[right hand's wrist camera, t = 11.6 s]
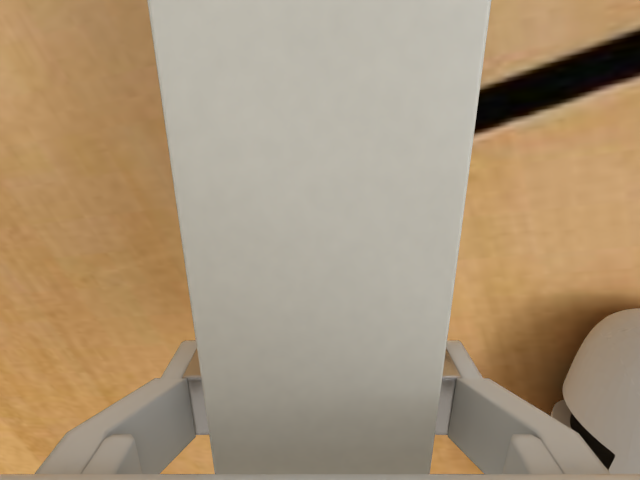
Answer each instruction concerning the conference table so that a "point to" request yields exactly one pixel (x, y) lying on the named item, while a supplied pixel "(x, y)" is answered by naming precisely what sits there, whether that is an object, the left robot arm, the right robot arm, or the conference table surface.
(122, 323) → the conference table surface
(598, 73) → the conference table surface
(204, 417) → the right robot arm
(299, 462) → the beam
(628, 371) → the grey slotted rounded body
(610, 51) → the conference table surface
